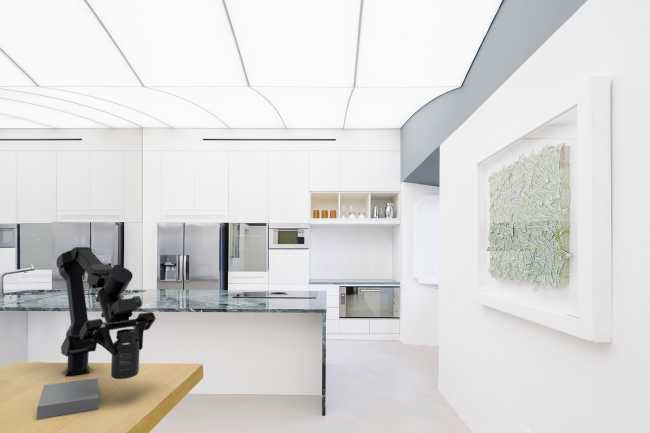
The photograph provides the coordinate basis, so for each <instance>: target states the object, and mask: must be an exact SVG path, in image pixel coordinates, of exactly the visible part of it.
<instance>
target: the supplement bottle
mask: <svg viewBox="0 0 650 433" xmlns="http://www.w3.org/2000/svg"><path fill="white" fill-rule="evenodd" d="M135 337H136V330H135V329H133V328H122V329H120V330H119V329H118V330H117V331H116V341H114V342H113V344H114V347H115V350H116V354H115V355H112V354H111V363H110V364H111V370H110V375H111V378H113V379H116V380H124V379H125V380H126V379H131V378H134V377H136V376H137V375H138V374H139V372H140V351H141V350H140V343H139V341H138V340H137V339H135Z"/></svg>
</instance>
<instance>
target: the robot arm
mask: <svg viewBox="0 0 650 433" xmlns="http://www.w3.org/2000/svg"><path fill="white" fill-rule="evenodd" d="M56 267H57V268H58V273H59V276H61V277H62V278H63V279H64V281H65V283H66V292H67V300H68V309H69V310H68V311H69V317H70V325H69V327H68V329H67V331H66V332H65V334H66V335H65V339H64V340H63V342H62V343H61V346H60V351H61V353H60V354H61V355H64V356H65V357H67V363H66V364H67V367H66V368H65V372H64V376H65V377H69V376H76V375H85V374H89V373H90V365H89V355H90V354H89V353H91V352H96V351H97V350H96V349H97V345H99V346H101V347H102V348H104V350H106V351H107V352H108V353H110V354H111V356H112V355H115V354H116V350H115V347H114V344H113V343H114V342H113V338H112V336H111V331H113V330H119V329H120V330H121V329H128V328H132V329H135V330H136V337H135V339H137V340H138V341H139V343H140V351H141V350H142V349H143V345H144V344H143V342H144V331H147V330H149V329H150V328H151V327H152V325H153V324H154V322H155V321H156V319H157V318H156V315H155V313H154V312H152V311H148V312H141V313H139V314H138V315H137V317H136V318H133V319H130V317H132V316H133V312H134V311H137V310H138V309H140V308H141V307H142V306H143V301H142V299H141V296H140V295H136V296H135V295H134V296H133V297H131V298H126V299H124V298H123V297H122V296H121V295H122V294H124V293H125V291H127V290H126V289H127V288H128V286H129V285H130V283H131V281H132V279H133V277H134V275H133V273H132V271H130V270H129V268H126V267H123V265H122V264H114V265H113V266H112V265H108V264H104V263H102V261H101V260H100V259H99V258H98V257H97V256H96V255H95V253H94V252H93V249H92V248H91V247H88V246H76V247H73V248H72V249H71V250H68V251H65V252H62V253H61V254H60V255H59V256H58V257H57V259H56ZM85 273H86V274H87V278H86V282H87V285H88V286H89V287H90V288H91V289H93V290H95V289H96V290H97V289H99V290H98V291H97V292H96V295H97V296H96V298H95V301H96V302H97V303H99V306H100V309H101V311H102V312H101V314H100V316H101V318H97V319H95V318H94V319H90V320H89V317H88V311H87V303H86V296H85V287H84V279H83V276H84V275H85ZM102 318H104V321H103V319H102Z"/></svg>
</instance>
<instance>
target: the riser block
mask: <svg viewBox="0 0 650 433" xmlns="http://www.w3.org/2000/svg"><path fill="white" fill-rule="evenodd" d="M99 384H100V383H99V378H98V377H97V378H96V377H95V378H89V379H81V380H80V379H79V380H72V381H65V382H58V383H50V384H49V383H48V384H43V387H42V391H41V394H40V398H39V400H38V404H37V407H36V408H37V410H36V420H42V419H48V418H54V417H59V416H66V415H72V414H77V413H78V414H79V413H83V412H84V413H85V412H90V411H97V410H99V409H100V407H99V406H100V404H99V402H100V401H99V400H100V392H99V390H100V389H99V388H100V387H99Z"/></svg>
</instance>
